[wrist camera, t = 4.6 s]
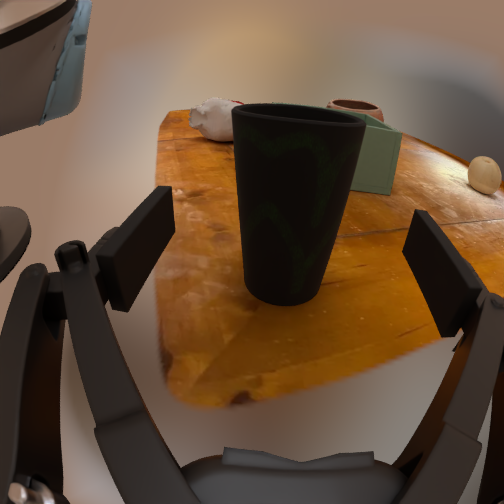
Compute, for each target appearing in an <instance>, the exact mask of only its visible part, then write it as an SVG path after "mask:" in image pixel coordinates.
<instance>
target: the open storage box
mask: <svg viewBox="0 0 504 504" xmlns="http://www.w3.org/2000/svg"><path fill="white" fill-rule="evenodd" d="M272 104H287V103H274V102H272ZM290 105H298V104H290ZM301 106H308V105H301ZM310 107H316V106H310ZM317 108H323V109H328V110H333V111H338V112H342V113H346V114H350V115H353V116H356V117H359V118H361V119H363V120H364V121H365V123H366V124H367V125H366V130H365V134H364V138H363V142H362V146H361V150H360V154H359V158H358V162H357V166H356V170H355V173H354V177H353V181H352V184H351V188H350V190H355V191H363V192H370V193H377V194H384V195H390V193H391V189H392V185H393V180H394V175H395V170H396V166H397V161H398V155H399V150H400V144H401V139H402V133H401V132H399V131H398V130H396V129H394V128H392V127H391V126H389V125H387V124H385V123H384V122H382V121H380V120H378V119H376V118H374V117H373V116H371V115H369V114H364V113H358V112H352V111H346V110H339V109H332V108H324V107H317Z"/></svg>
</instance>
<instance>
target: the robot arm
mask: <svg viewBox="0 0 504 504" xmlns="http://www.w3.org/2000/svg"><path fill="white" fill-rule="evenodd" d="M91 8H92V2H91V0H77V1H76V0H0V136H3V135H6V134H9V133H12V132H15V131H18V130H21V129H25V128H28V127H32V126H35V125H39V126H40V125H41V124H44V123H45V121H49V120H52V119H55V118H59V117H62V116H65V115H68V114H69V113H71V112H72V111H73V110H74V109H75V108H76V107H77V106H78V104H79V102H80V99H81V92H82V81H83V69H84V58H85V49H86V40H87V33H88V27H89V20H90V14H91ZM174 233H175V221H174V210H173V198H172V186H158V187H157V188H156V189H155V190H154V191H153V192H152V193H151V194H150V195H149V196H148V197H147V198H146V199H145V200H144V201H143V202H142V203H141V204H140V205H139V206H138V207H137V208H136V209H135V210H134V211H133V213H132V214H131V215H130V216H129V217H128V218H127V219H126V220H125V221H124V222H123V223H122V225H121V226H120V227H114V228H112V229H111V230H109V231H107V232H106V233H105V234H104V235H103V236H102V237H101V239H99V241H98V242H97V243H96V244H95V245H94V246H93V247H92V248H91V250H90V251H89V252H88V253H87V250H86V246H85V244H84V242H82V241H78V240H74V241H69V242H66V243H64V244H62V245H61V246H59V247H58V248H57V249H56V251H55V254H54V255H55V258H56V261H57V264H58V267H59V270H60V272H52V273H48V271H47V268H46V266H45V265H44V264H41V263H36V264H32V265H30V266H28V267H26V268H25V269H24V270H23V272H22V273H21V274H20V277H19V280H18V282H17V285H16V287H15V290H14V293H13V296H12V299H11V302H10V305H9V308H8V311H7V314H6V317H5V321H4V324H3V328H2V331H1V335H0V504H70V503H69V501H68V500H67V498H66V497H65V496H64V495H63V465H62V451H61V434H60V379H61V377H60V376H61V361H62V360H61V359H62V348H63V338H64V328H65V320H67V319H68V324H69V328H70V334H71V339H72V343H73V348H74V352H75V356H76V360H77V364H78V368H79V371H80V375H81V379H82V382H83V385H84V389H85V392H86V396H87V399H88V402H89V405H90V408H91V411H92V414H93V417H94V420H95V423H96V428H94V433H95V437H96V440H97V443H98V445H99V448H100V450H101V453H102V455H103V458H104V460H105V462H106V465H107V467H108V469H109V471H110V474H111V476H112V478H113V480H114V482H115V485H116V486H117V489H118V491H119V493H120V495H121V497H122V499H123V501H124V502H125V504H457V502H458V501H459V499H460V497H461V495H462V493H463V491H464V489H465V487H466V485H467V483H468V481H469V479H470V476H471V474H472V472H473V470H474V467H475V465H476V463H477V460H478V458H479V455H480V453H481V449H482V443H480V442H479V441H477V438H478V435H479V432H480V430H481V427H482V424H483V421H484V419H485V415H486V413H487V410H488V406H489V403H490V400H491V396H492V412H491V422H490V432H489V440H488V447H487V453H486V459H485V465H484V470H483V475H482V479H481V484H480V489H479V494H478V498H477V504H504V299H503V298H502V297H501V296H499V295H497V294H495V293H489V291H488V290H487V288H486V286H485V285H484V283H483V282H482V280H481V279H480V278H479V276H478V274H477V273H476V272H475V270H474V269H473V267H472V266H471V264H470V263H469V262H468V261H466V260H465V259H464V258H463V257H462V256H461V255H460V254H459V252H458V251H457V249H456V248H455V247H454V245H453V244H452V243H451V241H450V240H449V239H448V237H447V236H446V235H445V233H444V232H443V231H442V230H441V228H440V227H439V226H438V225H437V223H436V222H435V221H434V220H433V218H432V217H431V216H430V215H429V213H428V212H427V211H423V210H417V209H415V211H414V215H413V218H412V222H411V225H410V228H409V232H408V235H407V238H406V241H405V244H404V247H403V250H402V253H403V255H404V256H405V258H406V260H407V262H408V264H409V266H410V268H411V270H412V272H413V274H414V276H415V279H416V281H417V283H418V285H419V287H420V289H421V291H422V293H423V296H424V298H425V300H426V302H427V304H428V307H429V309H430V311H431V314H432V316H433V318H434V321H435V323H436V325H437V328H438V330H439V333H440V335H441V337H455V336H456V334H457V332H458V331H459V329H460V328H462V330H463V332H464V334H463V336H462V337H461V339H460V340H459V342H458V343H457V345H456V346H455V348H454V349H453V350H452V351H453V352H455V353H454V356H453V358H452V360H451V363H450V365H449V367H448V370H447V372H446V374H445V376H444V378H443V380H442V383H441V385H440V387H439V389H438V391H437V393H436V395H435V397H434V399H433V401H432V403H431V404H430V406H429V408H428V410H427V412H426V414H425V416H424V417H423V419H422V421H421V423H420V425H419V426H418V428H417V430H416V431H415V433H414V435H413V436H412V438H411V440H410V441H409V443H408V444H407V446H406V447H405V449H404V451H403V452H402V454H401V455H400V456H399V457H398V459H397V460H396V461H395V462H394V463H393V464H392V465H389V464H387V463H385V462H382V461H378V460H374V452H373V451H371V452H357V453H339V454H335V455H331V456H328V457H323V458H319V459H315V460H311V461H306V462H298V461H294V460H290V459H286V458H283V457H279V456H276V455H272V454H269V453H266V452H263V451H254V450H244V449H235V448H227V447H224V452H223V455H214V456H209V457H205V458H201V459H198V460H196V461H193V462H191V463H189V464H187V465H185V466H183V467H182V468H180V466H179V464H178V463H177V461H176V460H175V458H174V456H173V455H172V453H171V451H170V450H169V448H168V446H167V445H166V443H165V441H164V439H163V438H162V436H161V434H160V432H159V430H158V428H157V426H156V424H155V423H154V421H153V419H152V417H151V415H150V413H149V411H148V409H147V407H146V405H145V403H144V401H143V399H142V397H141V395H140V393H139V390H138V388H137V386H136V384H135V382H134V379H133V377H132V375H131V373H130V370H129V368H128V366H127V363H126V361H125V359H124V356H123V354H122V351H121V349H120V346H119V344H118V341H117V339H116V336H115V334H114V331H113V328H112V325H111V323H110V320H109V317H108V315H107V311H106V309H105V304H106V303H107V301H108V300H109V301H110V304H111V307H112V310H117V311H122V312H129V310H130V308H131V306H132V304H133V303H134V301H135V299H136V297H137V295H138V294H139V292H140V290H141V288H142V286H143V285H144V283H145V281H146V280H147V278H148V276H149V274H150V273H151V271H152V269H153V268H154V266H155V264H156V263H157V261H158V259H159V258H160V256H161V254H162V253H163V251H164V249H165V248H166V246H167V244H168V243H169V241H170V239H171V238H172V236H173V235H174ZM455 350H456V351H455ZM492 393H493V394H492Z"/></svg>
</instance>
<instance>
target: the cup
mask: <svg viewBox="0 0 504 504" xmlns="http://www.w3.org/2000/svg"><path fill="white" fill-rule="evenodd" d="M231 117H232V130H233V144H234V157H235V170H236V183H237V195H238V208H239V220H240V232H241V244H242V256H243V268H244V279H245V284H246V287H247V288H248V290H249V291H250V292H251V293H252V294H253V295H254V296H255V297H257V298H258V299H260V300H262V301H264V302H267V303H270V304H274V305H281V306H292V305H298V304H302V303H305V302H307V301H309V300H311V299H312V298H313V297H314V296H315V295H316V294H317V292H318V290H319V288H320V285H321V282H322V279H323V276H324V273H325V270H326V267H327V264H328V261H329V258H330V255H331V252H332V249H333V245H334V242H335V239H336V236H337V233H338V229H339V226H340V223H341V219H342V216H343V213H344V209H345V206H346V202H347V199H348V195H349V192H350V188H351V184H352V181H353V177H354V173H355V170H356V166H357V162H358V158H359V154H360V150H361V146H362V142H363V138H364V134H365V130H366V125H367V124H366V123H365V121H364V120H363V119H361V118H359V117H356V116H353V115H350V114H346V113H342V112H338V111H333V110H328V109H323V108H317V107H310V106H301V105H290V104H267V103H264V104H245V105H238V106H235V107H234V108H233V109H232V110H231Z"/></svg>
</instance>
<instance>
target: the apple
mask: <svg viewBox="0 0 504 504" xmlns="http://www.w3.org/2000/svg"><path fill="white" fill-rule="evenodd" d="M468 180H469V183H470V185H471V186H472V187H473V188H474V189H475V190H477V191H479V192H481V193H484V194H493V193H495V192H496V191H497V190H498V188H499V186H500V184H501V172H500V169H499V166H498V165H497V164H496V162H495V161H494V160H493V159H491V158H488V157H476V158H475V159H474V160H473V161H472V162H471V164H470V166H469V169H468Z"/></svg>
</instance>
